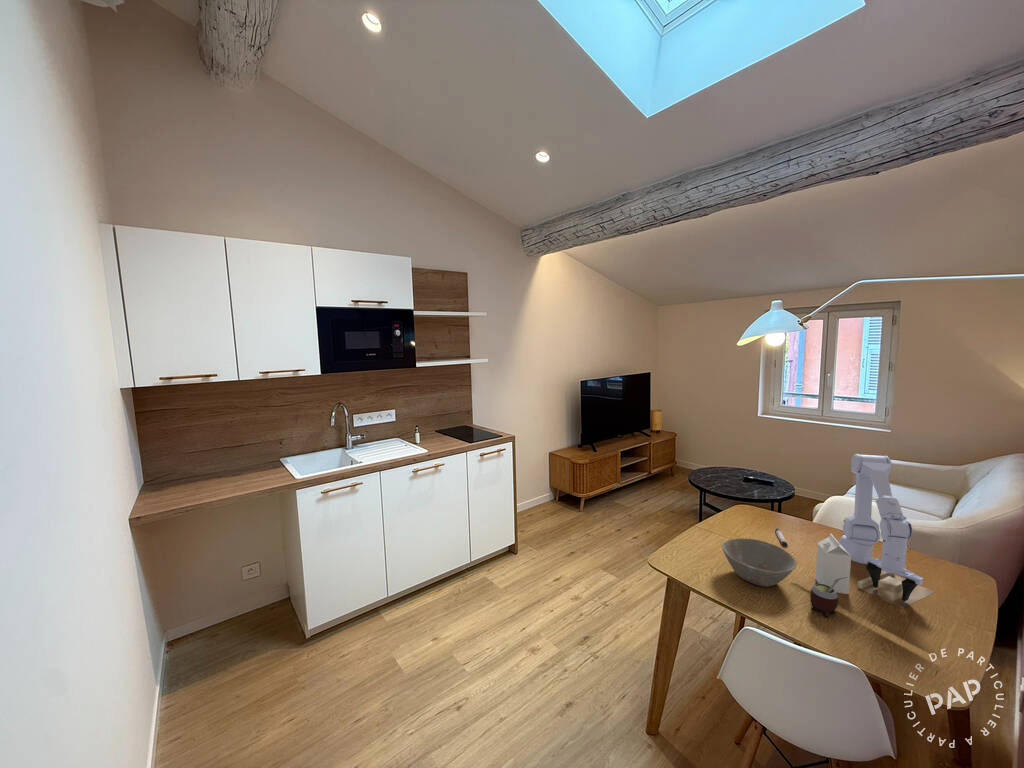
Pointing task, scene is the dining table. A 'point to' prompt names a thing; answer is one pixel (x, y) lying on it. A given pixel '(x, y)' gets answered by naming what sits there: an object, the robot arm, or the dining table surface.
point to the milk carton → (833, 564)
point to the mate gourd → (824, 598)
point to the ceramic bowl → (758, 561)
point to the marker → (781, 537)
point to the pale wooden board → (915, 595)
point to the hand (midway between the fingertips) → (890, 593)
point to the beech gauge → (890, 588)
